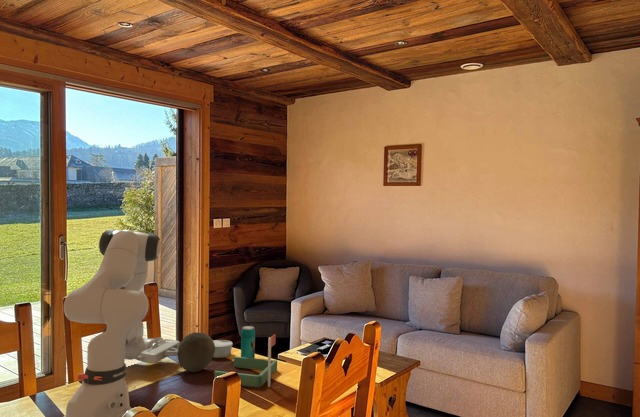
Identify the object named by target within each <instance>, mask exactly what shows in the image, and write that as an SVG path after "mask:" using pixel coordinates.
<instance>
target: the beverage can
mask: <svg viewBox="0 0 640 417" xmlns="http://www.w3.org/2000/svg"><path fill="white" fill-rule="evenodd" d="M241 328H242V329H241V332H240V334H241V337H240V357H246V358H256V356H255V355H256V330H255V326H253V325H244V326H242V327H241Z"/></svg>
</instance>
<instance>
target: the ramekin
mask: <svg viewBox="0 0 640 417" xmlns="http://www.w3.org/2000/svg"><path fill="white" fill-rule="evenodd" d="M213 342H214V344H215V352H214V356H213V358H214V359H221V358H227V357H229V356H230V355H231V352H232V348H233V342H232V341H231V340H226V339H217V340H216V339H215V340H213Z"/></svg>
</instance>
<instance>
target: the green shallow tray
mask: <svg viewBox="0 0 640 417" xmlns="http://www.w3.org/2000/svg"><path fill="white" fill-rule="evenodd" d="M275 345H276V334H273V335H271V337H270V336H269V337H268V343H267V346H268V347H267V348H268V349H267V359H265V358H256V357H255V358H246V357H241V356H233V368H238V369H239V368H240V369H248V370H249V369H250V370H257V369H260V370H259V371H261V372H260V373H259V374H252V373H251V374H249V373H240V372H237V373H238V375H239V376H240V378H241V381H242V385H241V386H243V387H251V388H261V387H262V386H264V384H266V382H267V388H271V377H272V376H273V375H274V374H275V373H276V372H277V371H278V360H276V359H275V360H274V359H272V347H273V346H275ZM228 372H229V371H223V370H221V371H220V370H215V371H214V372H213V373H214V376H213V377H214V378H215V377H217V376H219V375H222V374H225V373H228ZM214 378H213V379H214Z"/></svg>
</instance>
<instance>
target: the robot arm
mask: <svg viewBox="0 0 640 417" xmlns="http://www.w3.org/2000/svg"><path fill="white" fill-rule="evenodd" d="M98 248H99V252H100V254H101V255H102V256H103V258H102V260H101V262H100V266H99V268H98V270H97V272H96V273H95V274H94V276H93V277H92V278H91V279H90V280H88V281H87V282H86V283H85V284H84V285H82V286H80V287H78V288H76V289H75V290H72V291H71V292H70V293H69V294H68V295H66V298H65V300H64V302H63V312H64V315H65V316H66V318H67V320H69V321H71V322H75V323H81V324H105V327H104V329H103V330H102V333H99V334H98V335H95V336H94V337H93V338H91V339H90V341H89V342H88V345H87V347H86V348H87V353H86V354H87V355H86V356H87V360H86V364H87V365H86V367H85V370H84V373H82V372H79V373H78V374H77V376H76V379H77V381H82V383H81V385H79V387H78V389H77V390H76V391H75V392H74V394H73V395H72V397H71V398H70V399H69V401H68V402H67V405H66V408H65V414H64V416H63V417H122V415H123V414H124V413H125V412H126V411H127V410H129V409H131V408H132V407H131V406H130V396H129V386H128V383H127V382H126V376H127V364H126V362H125V360H130V361H131V360H135V361H136V360H137V361H139V362H142V363H147V364H157V363H158V362H160V361H163V360H164V359H166V358H168V357H178V347H179V345H180V343H181V341H179V340H175V339H171V338H170V339H168V338H163V337H161V336H160V337H154V338H143V337H144V323H143V320H144V319H145V317H146V315H147V314H148V311H149V308H150V303H149V299H148V296H147V295H146V294H145V293H144V291H141V290H142V288H144V286H145V284H146V282H147V278H148V268H149V262H153V261H155V260H156V259H158V257H159V255H160V253H161V251H162V242H161V238H160V237H159V236H158V235H157V234H154V233H146V232H142V231H134V230H131V229H130V230H129V229H114V228H113V229H106V230H105V231H104V232H101V236H100V238H99V241H98Z"/></svg>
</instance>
